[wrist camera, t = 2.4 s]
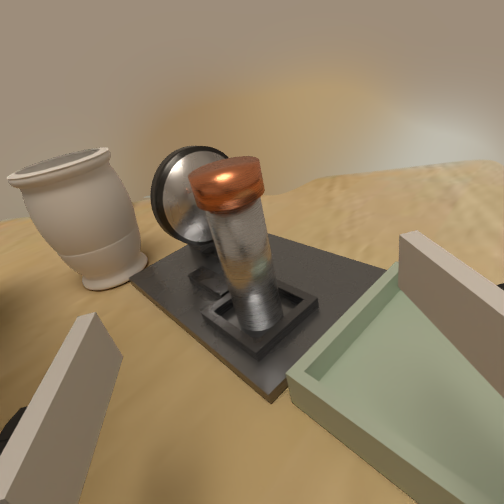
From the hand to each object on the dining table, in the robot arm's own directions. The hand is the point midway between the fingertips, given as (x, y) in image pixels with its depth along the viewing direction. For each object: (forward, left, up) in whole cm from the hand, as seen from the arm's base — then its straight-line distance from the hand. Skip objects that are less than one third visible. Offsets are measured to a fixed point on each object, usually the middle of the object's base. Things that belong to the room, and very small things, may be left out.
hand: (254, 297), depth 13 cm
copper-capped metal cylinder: (-8, +6, -10) cm, 14 cm away
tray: (+6, +9, -11) cm, 15 cm away
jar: (-31, +1, -11) cm, 33 cm away
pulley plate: (-14, +9, -11) cm, 20 cm away
